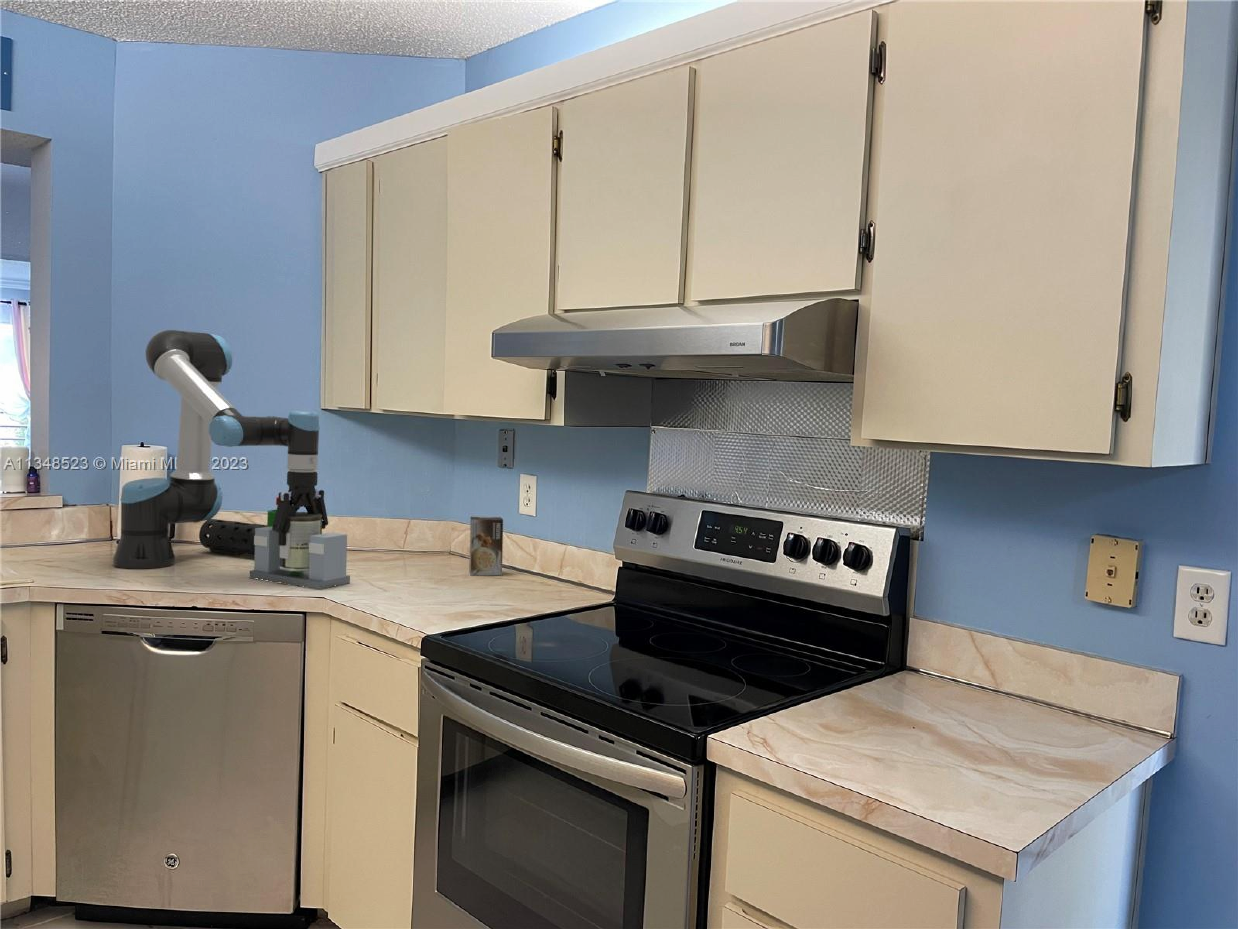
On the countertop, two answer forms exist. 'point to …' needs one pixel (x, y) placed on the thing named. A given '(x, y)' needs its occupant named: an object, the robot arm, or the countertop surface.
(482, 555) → the coffee box
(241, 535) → the muzzle brake
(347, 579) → the rail plate
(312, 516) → the coffee can
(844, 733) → the countertop surface
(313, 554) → the mounted blocks
